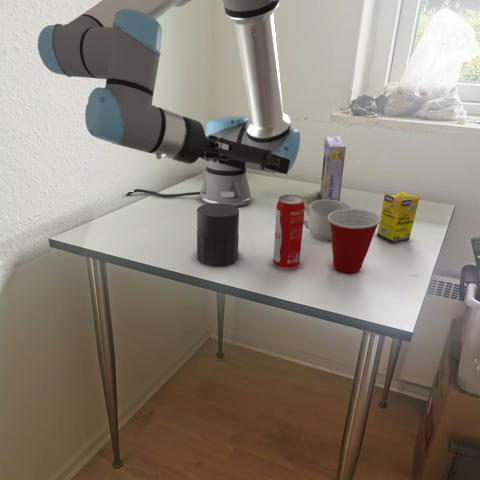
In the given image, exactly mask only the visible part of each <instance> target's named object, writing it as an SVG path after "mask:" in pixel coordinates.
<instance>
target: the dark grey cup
mask: <svg viewBox="0 0 480 480" xmlns="http://www.w3.org/2000/svg"><path fill="white" fill-rule="evenodd" d="M239 226H240V209H239V207H235V206H232V205H228V204H221V203H212V204H205V203H204V204H202V205H199V206H198V207H197V208H196V258H197V261H198V262H199V263H201V264H203V265H206V266H211V267H226V266H230V265H233V264H235V263H236V262H238V260H239V239H240V238H239V237H240V233H239Z"/></svg>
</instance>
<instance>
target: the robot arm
mask: <svg viewBox="0 0 480 480" xmlns="http://www.w3.org/2000/svg"><path fill="white" fill-rule="evenodd" d="M191 1H192V0H100V1H99V2H97V3H96V4H95V5H93V6H92V7H90V8H89V9H87V10H86V11H85V12H83V13H82V14H80V15H79V16H77V17H76V18H74V19H73V20H71V21H70V22H68V23H66V24H62V23H55V24H50V25H46V26H45V27H44V28H42V29H41V31H40V32H39V34H38V38H37V51H38V55H39V58H40V60H41V61H42V63H43V65H44V67H45V68H47V69H48V71H50V72H52V73H53V74H56V75H62V76H65V77H68V78H72V77H74V78H75V77H76V78H88V79H99V80H106V81H105V87H99V86H98V87H95V88H94V89H93V90H92V91H91V92H90V94H89V96H88V97H87V98H88V100H87V104H86V106H85V113H84V114H85V115H84V118H85V119H84V120H85V127H86V129H87V132H88V133H89V134H91V136H92V137H94V138H97V139H99V140H102V141H106V142H107V143H111V144H113V145H116V146H121V147H125V148H127V149H132V150H136V151H140V152H144V153H147V154H152V155H155V159H156V160H161V159H162V158H167V159H172V160H173V161H176V162H180V163H183V164H187V165H190V164H194V163H195V162H197V161H198V160H199V159H202V160H204V161H205V176H204V180H203V182H202V186H201V188H200V191H192V192H181V193H171V194H170V193H169V194H168V193H167V194H165V193H159V192H157V191H153V190H147V189H143V188H135V190H134V189H133V190H134V192H129V191H128V192H127V193H126V194H125V196H127V197H129V196H131V195H133V194H134V193H144V194H150V195H154V196H157V197H161V198H178V197H187V196H188V197H189V196H199V200H200V202H201V203H203V204H204V205H205V204H212V203H221V204H228V205H232V206H235V207H237V208H239V207H240V208H241V207H244V206H247V205H248V204H250V203H251V202H252V192H251V189H250V185H249V182H248V178H247V169H249V170H256V171H260V172H267V173H271V174H283V175H288V173H289V172H290V170H291V169H292V168H293V166H294V164H295V162H296V160H297V157H298V153H299V150H300V145H301V144H300V143H301V133H300V131H299V130H298V129H296V128H292V126H291V119H290V116H288V114H286V113H284V106H283V98H282V97H283V96H282V87H281V76H280V67H279V57H278V49H277V48H278V47H277V39H276V38H277V37H276V29H275V20H274V13H275V11H276V9H277V8H278V7H279V4H280V0H222V3H223V8H224V13H225V16H226V17H228V19H230V20H231V21H233V24H234V30H235V37H236V42H237V43H236V44H237V47H238V54H239V61H240V67H241V73H242V78H243V85H244V92H245V97H246V103H247V104H246V105H247V110H248V115H249V117H248V116H246V115H245V116H244V115H235V116H223V117H222V116H221V117H216V118H211V119H210V120H209V121H207V123H206V128H205V127H204V125H203V123H201V121H199V120H196V119H193V118H190V117H188V116H184V115H181V114H179V113H177V112H174V111H171V110H169V109H165V108H162V107H158V106H156V105H153V99H154V94H155V87H156V81H157V74H158V69H159V63H160V57H161V44H162V35H163V28H162V26H161V24H160V23H159V21H158V20H159V18H161V17H162V16H164V14H166V13H167V12H169V11H170V10H171V9H172V8H173V7H176V8H177V7H183V6H185V5H187V4H188V3H189V2H191ZM205 129H206V130H205Z"/></svg>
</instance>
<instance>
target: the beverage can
mask: <svg viewBox="0 0 480 480" xmlns="http://www.w3.org/2000/svg"><path fill="white" fill-rule="evenodd" d="M305 205H306V204H305V200H304V197H303V196H300V195H296V194H283V195H281V196H279V198H278V200H277V203H276V209H275V210H276V211H275V212H276V213H275V226H274V227H275V229H274V242H273V243H274V244H273V258H272V259H273V261H272V262H273V264H274V266H275V267H276V268H278V269H281V270H293V269H297V268H298V267H299V265H300V263H301V252H302V241H303V231H304V224H303V222H304V220H305V212H306V210H305Z"/></svg>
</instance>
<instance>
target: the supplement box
mask: <svg viewBox="0 0 480 480" xmlns="http://www.w3.org/2000/svg"><path fill="white" fill-rule="evenodd" d="M419 201H420V197H418V196H415V195H412V194H410V193H408V192H405V191H401V192H392V193H384V197H383V203H382V207H381V213H380V217H381V221H380V223H379V224H378V225H377V231H376V237H378V238H380V239H382V240H385V241H386V242H388V243H390V244H395V243H400V242H407V241H410V238H411V234H412V230H413V226H414V222H415V219H416V214H417V209H418V205H419V203H420V202H419Z"/></svg>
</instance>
